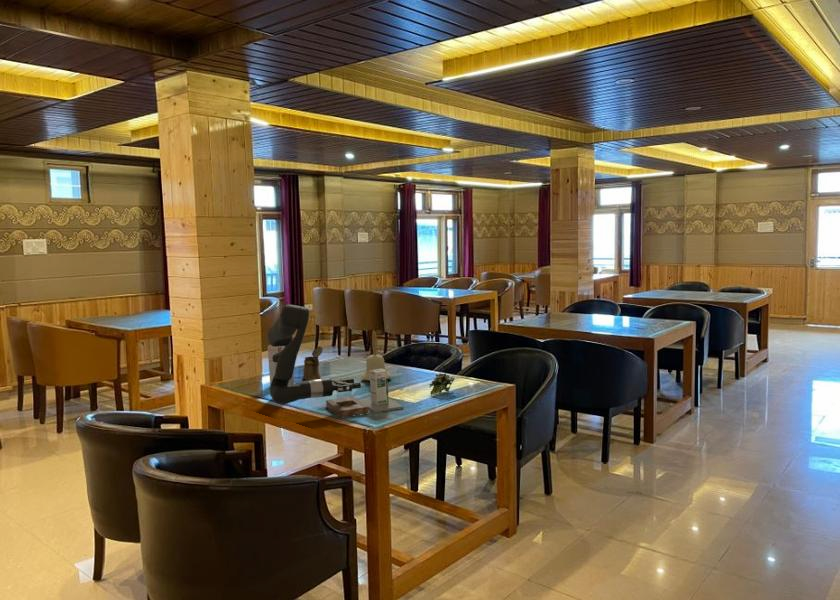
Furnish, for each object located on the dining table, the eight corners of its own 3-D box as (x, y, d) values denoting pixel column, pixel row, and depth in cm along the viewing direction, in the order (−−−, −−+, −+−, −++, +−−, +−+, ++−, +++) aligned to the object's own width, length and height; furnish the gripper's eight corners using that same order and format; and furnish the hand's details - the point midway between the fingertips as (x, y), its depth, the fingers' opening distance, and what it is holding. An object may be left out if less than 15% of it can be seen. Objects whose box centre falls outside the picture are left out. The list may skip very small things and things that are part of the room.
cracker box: (278, 380, 330) (276, 341, 328) (289, 380, 329) (287, 340, 327) (269, 387, 316) (266, 345, 314) (281, 387, 316) (278, 345, 314)
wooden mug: (314, 382, 323) (312, 347, 321) (299, 379, 333) (297, 345, 331) (328, 379, 329) (326, 345, 327) (313, 376, 339) (312, 342, 337)
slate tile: (374, 413, 262) (374, 410, 262) (358, 402, 280) (358, 400, 280) (403, 408, 267) (403, 406, 267) (385, 398, 286) (385, 396, 285)
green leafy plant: (440, 403, 295) (449, 380, 299) (453, 403, 285) (463, 379, 290) (421, 392, 290) (431, 369, 294) (434, 392, 281) (444, 368, 285)
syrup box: (377, 405, 270) (375, 371, 268) (370, 402, 275) (369, 369, 273) (388, 403, 273) (387, 370, 271) (382, 400, 278) (381, 368, 276)
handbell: (372, 384, 313) (370, 334, 311) (355, 380, 325) (352, 331, 322) (397, 379, 323) (395, 330, 321) (379, 375, 335) (377, 328, 332)
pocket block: (340, 418, 256) (340, 410, 256) (326, 407, 274) (326, 400, 274) (368, 413, 261) (368, 406, 261) (353, 403, 279) (352, 396, 279)
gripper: (324, 382, 255) (362, 377, 262) (314, 375, 268) (351, 371, 275) (325, 400, 256) (363, 395, 263) (315, 393, 269) (352, 388, 276)
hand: (357, 383), depth 269 cm, fingers open, 8 cm apart
